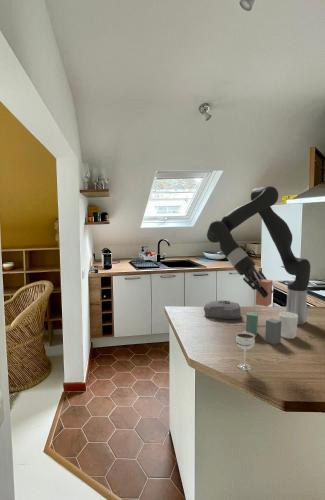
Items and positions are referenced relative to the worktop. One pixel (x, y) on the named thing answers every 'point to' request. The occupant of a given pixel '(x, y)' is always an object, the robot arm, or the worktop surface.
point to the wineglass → (245, 345)
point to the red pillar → (268, 287)
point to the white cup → (288, 324)
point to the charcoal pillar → (273, 331)
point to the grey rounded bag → (222, 310)
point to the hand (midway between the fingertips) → (268, 294)
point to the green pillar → (252, 323)
